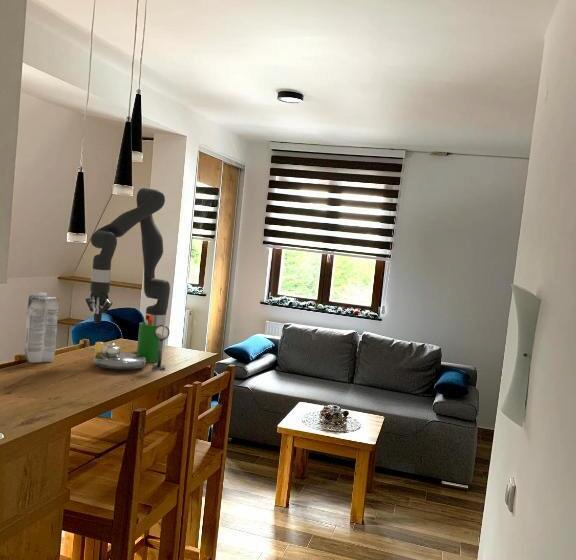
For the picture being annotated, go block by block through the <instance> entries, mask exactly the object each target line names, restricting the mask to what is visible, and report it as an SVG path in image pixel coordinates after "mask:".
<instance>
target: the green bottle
mask: <svg viewBox="0 0 576 560" xmlns="http://www.w3.org/2000/svg"><path fill="white" fill-rule="evenodd" d="M145 317H146V319H145V318H144V319H145V320H148V325H146V322H145V321H142V322H139V328H138V337H137V348H136V349H137V350H136V354H137V355H141V356H143V357H145V358H146V363H157V360H158V349H159V339H157V338H156V337H155V334H154V331H155V328H156V327H157V326H154V325H153V315H150V314H147V315H146V314H145Z"/></svg>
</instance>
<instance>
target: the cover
mask: <svg viewBox="0 0 576 560" xmlns="http://www.w3.org/2000/svg"><path fill="white" fill-rule="evenodd" d="M120 353H121V346H119V345H116V343H114V342H108V343H107V344H106V345H105V344H103V356H105V357H119V356H120Z"/></svg>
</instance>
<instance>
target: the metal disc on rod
mask: <svg viewBox="0 0 576 560" xmlns="http://www.w3.org/2000/svg"><path fill="white" fill-rule="evenodd" d="M170 332H171V331H170V328H169V327H168V326H167V325H166V324H165V325H159V326H157V327H156V328H155V331H154V334H155V337H156V338H157V339H159V349H158V360H157V362H156V364H152V369H151V370H154V371H166V365H165V364H162V359H163V358H162V357H163V351H162V349H163V340H165V341H166V340H167V339H168V338H169V336H170Z"/></svg>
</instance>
